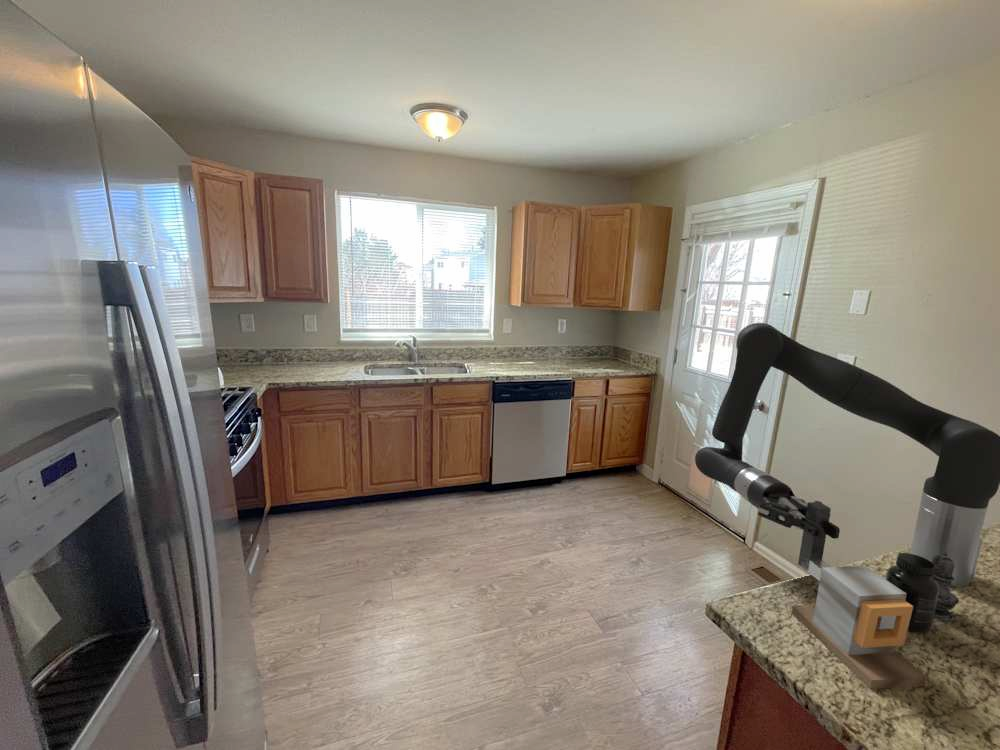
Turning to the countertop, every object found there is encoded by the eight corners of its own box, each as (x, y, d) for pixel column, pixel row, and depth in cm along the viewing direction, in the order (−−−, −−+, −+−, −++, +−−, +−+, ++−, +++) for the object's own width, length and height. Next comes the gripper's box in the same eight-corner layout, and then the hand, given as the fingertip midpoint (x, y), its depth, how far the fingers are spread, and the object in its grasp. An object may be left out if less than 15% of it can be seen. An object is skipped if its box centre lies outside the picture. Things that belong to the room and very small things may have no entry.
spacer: (894, 637, 68) (903, 599, 66) (903, 645, 66) (913, 606, 65) (853, 639, 67) (861, 601, 66) (862, 647, 65) (871, 608, 64)
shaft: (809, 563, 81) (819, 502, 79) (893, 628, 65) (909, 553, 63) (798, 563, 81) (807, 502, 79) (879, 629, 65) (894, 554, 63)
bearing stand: (836, 610, 79) (847, 551, 77) (925, 685, 64) (941, 614, 62) (791, 612, 78) (800, 553, 76) (870, 688, 63) (884, 617, 61)
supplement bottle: (925, 616, 78) (938, 557, 76) (935, 640, 72) (950, 578, 70) (876, 601, 82) (887, 544, 80) (882, 623, 76) (894, 563, 74)
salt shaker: (964, 624, 76) (979, 564, 74) (926, 618, 77) (939, 559, 75) (938, 601, 82) (951, 545, 80) (903, 596, 83) (914, 541, 81)
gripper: (734, 475, 91) (796, 516, 74) (794, 473, 92) (869, 513, 75) (730, 507, 92) (790, 554, 76) (789, 505, 94) (861, 551, 77)
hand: (829, 534), depth 76 cm, fingers closed on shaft, 2 cm apart
